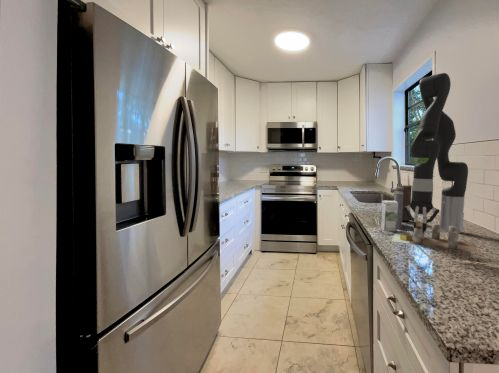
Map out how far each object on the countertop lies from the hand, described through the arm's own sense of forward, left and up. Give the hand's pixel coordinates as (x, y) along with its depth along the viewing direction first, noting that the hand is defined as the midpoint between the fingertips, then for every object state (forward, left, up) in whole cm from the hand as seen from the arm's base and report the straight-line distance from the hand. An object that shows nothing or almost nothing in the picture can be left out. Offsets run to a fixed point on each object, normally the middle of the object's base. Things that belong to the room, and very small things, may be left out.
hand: (419, 231), depth 134 cm
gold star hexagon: (+3, -4, -4) cm, 6 cm away
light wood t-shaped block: (-3, -2, -1) cm, 3 cm away
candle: (-35, -35, -5) cm, 50 cm away
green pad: (+3, -6, -5) cm, 8 cm away
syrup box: (-7, -21, -5) cm, 23 cm away
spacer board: (-5, +7, -5) cm, 9 cm away
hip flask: (-21, -27, -5) cm, 35 cm away
